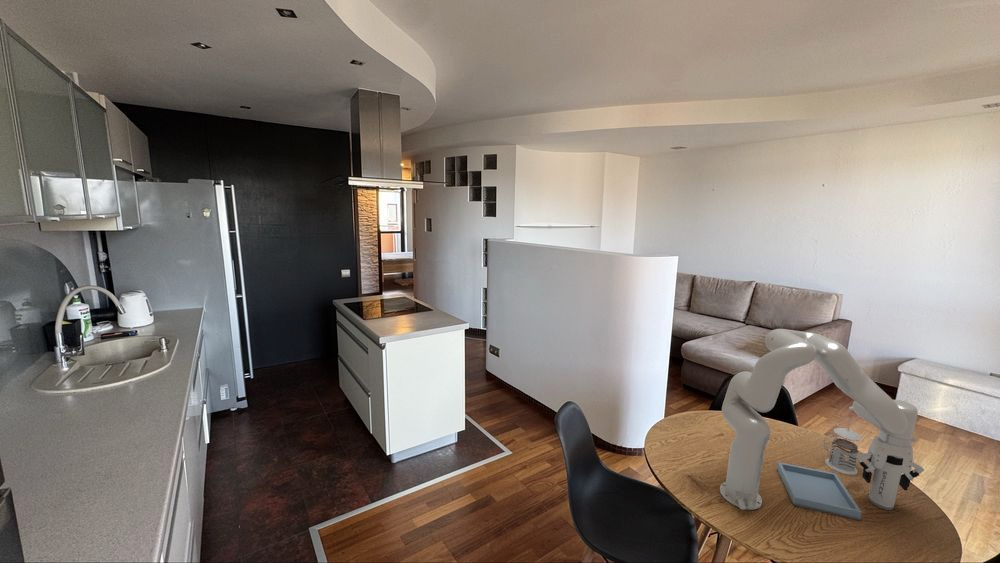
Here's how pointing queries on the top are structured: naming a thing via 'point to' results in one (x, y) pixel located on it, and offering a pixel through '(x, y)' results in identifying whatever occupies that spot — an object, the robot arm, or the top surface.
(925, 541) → the top surface
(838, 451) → the french press
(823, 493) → the tray
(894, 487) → the travel mug
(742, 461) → the robot arm
